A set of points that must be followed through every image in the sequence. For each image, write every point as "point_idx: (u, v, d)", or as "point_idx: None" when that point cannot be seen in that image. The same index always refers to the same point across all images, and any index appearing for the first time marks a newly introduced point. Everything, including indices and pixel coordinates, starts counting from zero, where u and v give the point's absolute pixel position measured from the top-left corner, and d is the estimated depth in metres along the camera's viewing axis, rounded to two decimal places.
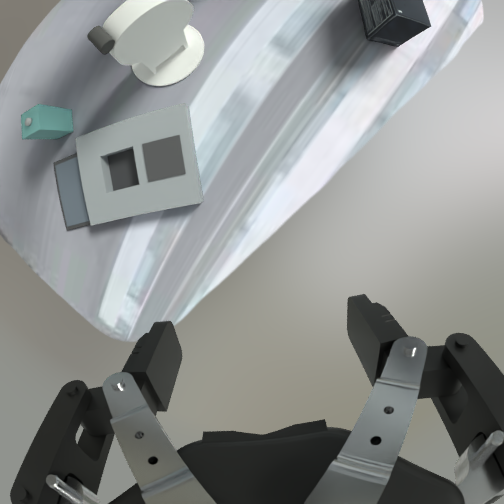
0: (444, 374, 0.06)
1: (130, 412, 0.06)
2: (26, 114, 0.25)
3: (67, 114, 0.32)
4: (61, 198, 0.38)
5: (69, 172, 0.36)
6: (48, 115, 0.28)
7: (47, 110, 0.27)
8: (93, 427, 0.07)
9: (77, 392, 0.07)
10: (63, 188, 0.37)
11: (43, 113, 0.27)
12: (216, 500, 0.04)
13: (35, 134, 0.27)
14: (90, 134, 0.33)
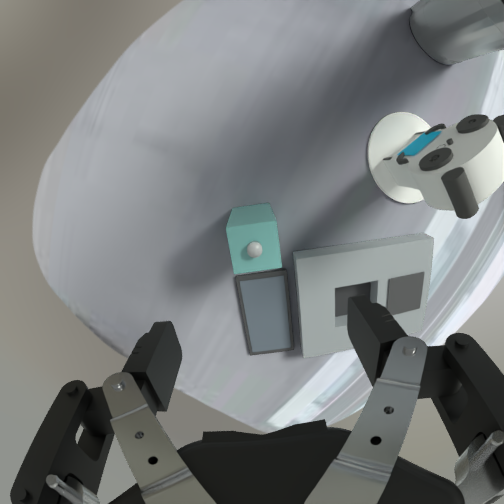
0: (444, 374, 0.06)
1: (130, 412, 0.06)
2: (242, 231, 0.22)
3: None
4: (247, 322, 0.35)
5: (266, 293, 0.33)
6: None
7: None
8: (93, 427, 0.07)
9: (77, 392, 0.07)
10: (253, 311, 0.34)
11: None
12: (216, 500, 0.04)
13: None
14: (323, 258, 0.30)
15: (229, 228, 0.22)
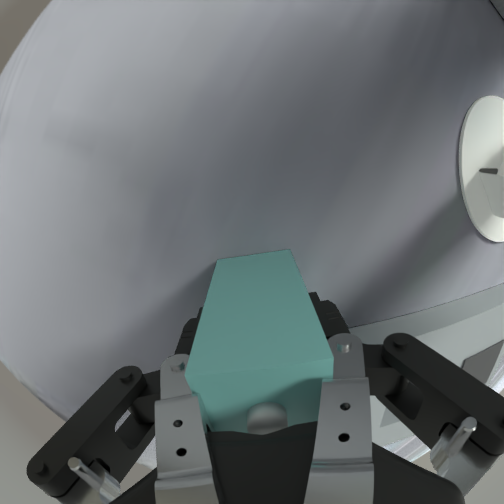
0: (381, 373, 0.07)
1: (177, 398, 0.06)
2: (234, 385, 0.07)
3: None
4: None
5: None
6: None
7: None
8: (140, 415, 0.08)
9: (132, 378, 0.08)
10: None
11: None
12: None
13: None
14: None
15: (195, 377, 0.07)
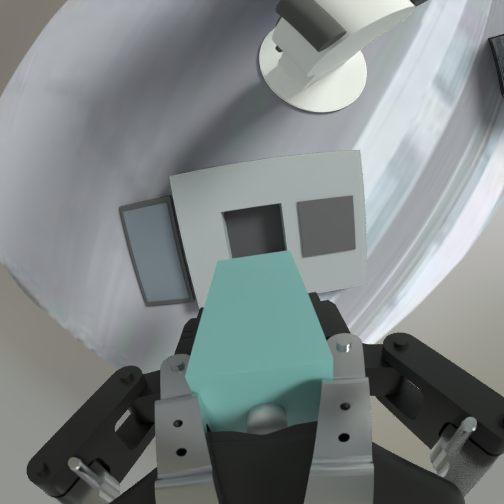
0: (381, 373, 0.07)
1: (177, 398, 0.06)
2: (234, 386, 0.07)
3: None
4: (136, 262, 0.29)
5: (151, 225, 0.28)
6: None
7: None
8: (140, 415, 0.08)
9: (132, 378, 0.08)
10: (140, 248, 0.29)
11: None
12: None
13: None
14: (200, 173, 0.24)
15: (195, 378, 0.07)
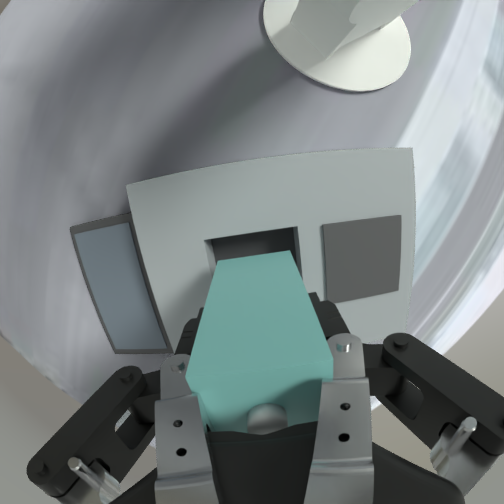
0: (381, 373, 0.07)
1: (177, 398, 0.06)
2: (235, 386, 0.07)
3: None
4: (96, 301, 0.20)
5: (110, 253, 0.19)
6: None
7: None
8: (140, 415, 0.08)
9: (132, 378, 0.08)
10: (99, 283, 0.20)
11: None
12: None
13: None
14: (171, 180, 0.15)
15: (195, 378, 0.07)
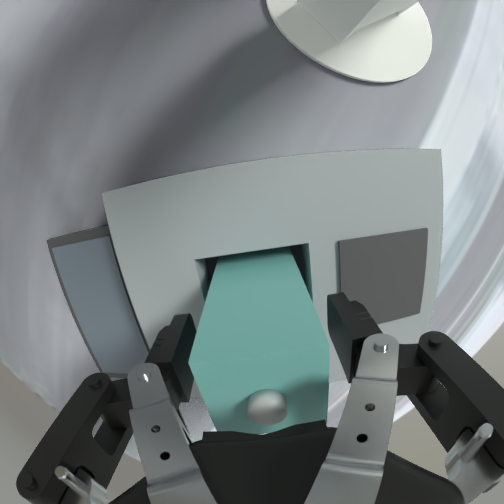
0: (417, 372, 0.07)
1: (150, 405, 0.06)
2: (235, 371, 0.07)
3: None
4: (79, 321, 0.17)
5: (91, 270, 0.16)
6: None
7: None
8: (113, 421, 0.07)
9: (100, 384, 0.07)
10: (80, 303, 0.17)
11: None
12: (221, 502, 0.04)
13: None
14: (154, 186, 0.12)
15: (198, 364, 0.07)
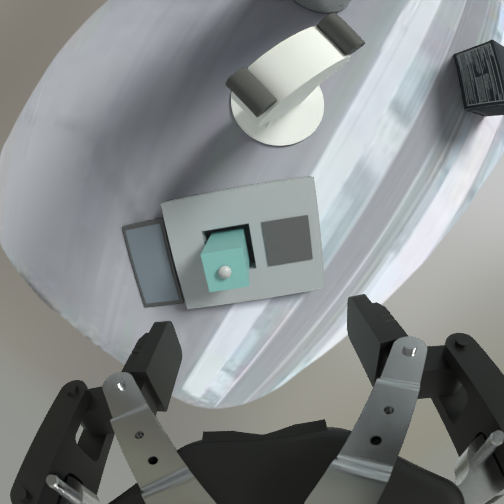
0: (444, 374, 0.06)
1: (130, 412, 0.06)
2: (214, 257, 0.26)
3: (245, 237, 0.34)
4: (136, 271, 0.36)
5: (148, 241, 0.35)
6: (245, 256, 0.29)
7: (244, 249, 0.28)
8: (93, 427, 0.07)
9: (77, 392, 0.07)
10: (139, 259, 0.35)
11: (244, 257, 0.28)
12: (216, 500, 0.04)
13: None
14: (184, 201, 0.31)
15: (203, 254, 0.26)
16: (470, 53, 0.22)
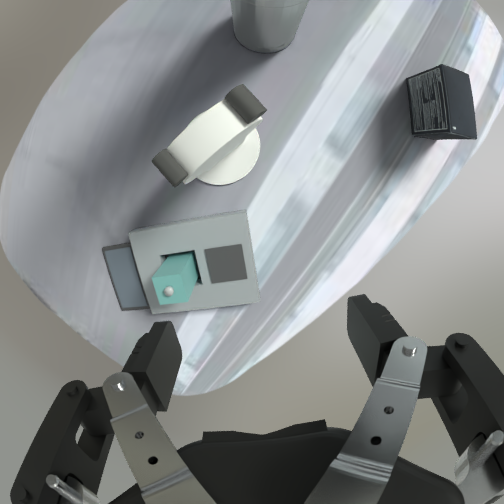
0: (444, 374, 0.06)
1: (130, 412, 0.06)
2: (161, 280, 0.34)
3: (193, 260, 0.41)
4: (114, 282, 0.44)
5: (122, 260, 0.42)
6: (187, 278, 0.37)
7: (185, 273, 0.36)
8: (93, 427, 0.07)
9: (77, 392, 0.07)
10: (116, 274, 0.43)
11: (185, 279, 0.35)
12: (216, 500, 0.04)
13: None
14: (145, 232, 0.39)
15: (153, 278, 0.34)
16: (420, 78, 0.29)
